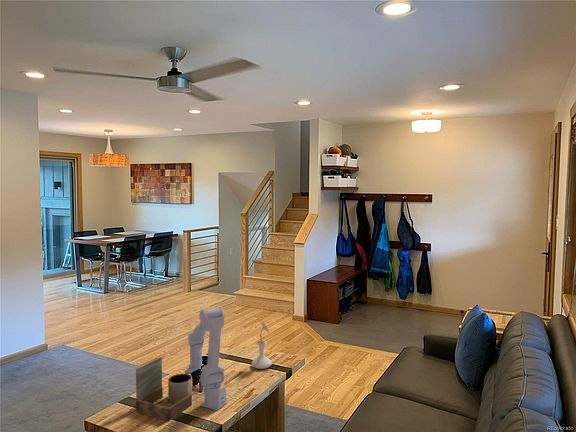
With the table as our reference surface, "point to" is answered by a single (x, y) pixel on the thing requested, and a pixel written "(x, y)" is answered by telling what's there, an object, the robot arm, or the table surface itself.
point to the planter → (179, 387)
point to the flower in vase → (261, 354)
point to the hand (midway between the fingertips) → (196, 384)
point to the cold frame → (155, 393)
